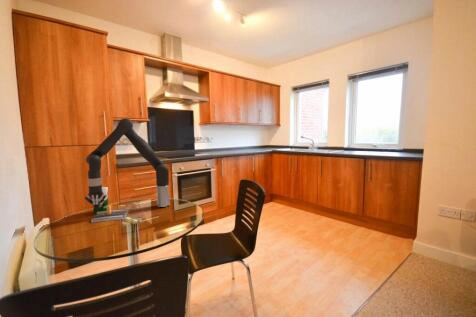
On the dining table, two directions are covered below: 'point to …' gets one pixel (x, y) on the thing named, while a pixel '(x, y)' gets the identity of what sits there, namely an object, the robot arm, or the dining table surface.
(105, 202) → the milk carton
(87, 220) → the dining table surface
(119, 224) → the dining table surface
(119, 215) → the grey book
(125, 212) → the panel
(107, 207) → the breaker lever
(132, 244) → the dining table surface
